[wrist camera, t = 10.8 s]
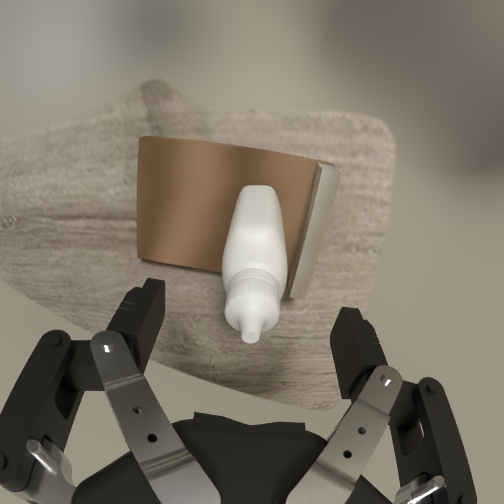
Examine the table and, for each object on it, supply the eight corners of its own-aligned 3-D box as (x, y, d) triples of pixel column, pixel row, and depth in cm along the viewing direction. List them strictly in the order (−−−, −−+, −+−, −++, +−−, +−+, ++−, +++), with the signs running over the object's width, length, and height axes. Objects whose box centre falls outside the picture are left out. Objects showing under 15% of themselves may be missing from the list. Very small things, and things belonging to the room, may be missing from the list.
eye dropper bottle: (214, 236, 23) (176, 355, 12) (250, 173, 21) (232, 260, 10) (264, 261, 24) (262, 388, 13) (303, 203, 21) (337, 310, 11)
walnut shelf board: (141, 252, 25) (128, 270, 22) (144, 136, 20) (128, 142, 18) (302, 278, 26) (306, 299, 23) (332, 163, 21) (342, 173, 18)
